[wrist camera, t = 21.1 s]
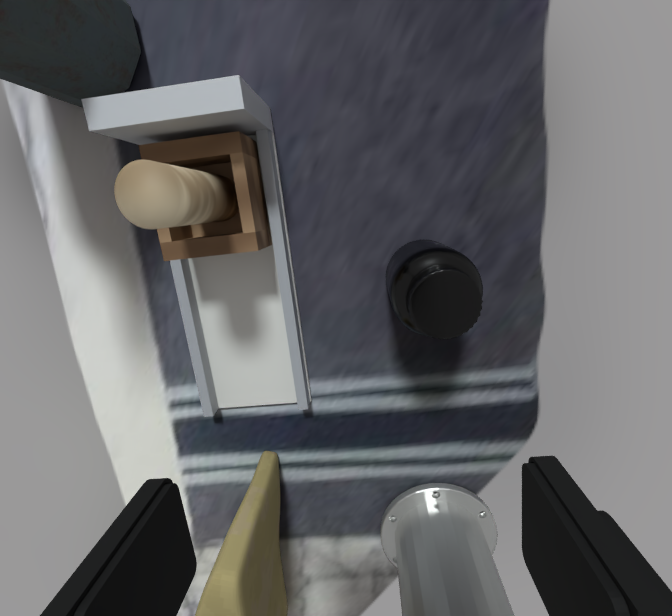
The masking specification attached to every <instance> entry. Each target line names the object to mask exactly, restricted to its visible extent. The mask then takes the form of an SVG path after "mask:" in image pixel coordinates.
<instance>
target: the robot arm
mask: <svg viewBox="0 0 672 616" xmlns="http://www.w3.org/2000/svg"><path fill="white" fill-rule="evenodd" d="M380 534H381V544H382V547H383V550H384V553H385V554H386V556H387V557H388V559H389V561H390V562H391V563H392V564H393V565H394V566H395V567H396V568H397V569H398V576H399V586H400V596H401V606H402V616H514V613H513V611H512V608H511V605H510V603H509V600H508V597H507V595H506V592H505V589H504V586H503V584H502V581H501V578H500V576H499V573H498V570H497V568H496V565H495V562H494V560H493V557H492V554H493V553H494V550H495V547H496V544H497V535H498V534H497V527H496V523H495V521H494V518H493V516H492V514H491V512H490V510H489V508H488V506H487V505H486V504H485V503H484V502H483V500H482V499H480V498H479V497H478V496H477V495H475V494H474V493H473V492H471V491H469V490H467V489H465V488H462V487H459V486H456V485H453V484H446V483H429V484H424V485H419V486H416V487H413V488H411V489H408V490H407V491H405V492H403V493H401V494H400V495H399V496H398V497H396V498H395V499H394V500H393V501H392V502H391V503H390V505H389V506H388V507H387V509H386V511H385V513H384V515H383V517H382V521H381V529H380ZM522 551H523V557H524V560H525V563H526V566H527V568H528V570H529V572H530V574H531V576H532V579H533V581H534V583H535V585H536V587H537V590H538V592H539V594H540V596H541V598H542V600H543V603H544V605H545V607H546V609H547V611H548V614H549V616H672V592H671V591H670V589H669V588H668V587H667V585H666V584H665V583H664V582H663V580H662V579H661V578H660V577H659V576H658V574H657V573H656V572H655V571H654V569H653V568H652V567H651V566H650V564H649V563H648V562H647V561H646V559H645V558H644V557H643V556H642V554H641V553H640V552H639V551H638V549H637V548H636V547H635V546H634V544H633V543H632V542H631V541H630V539H629V538H628V537H627V536H626V534H625V533H624V532H623V531H622V529H621V528H620V527H619V526H618V524H617V523H616V522H615V521H614V519H613V518H612V517H611V516H610V515H609V514H608V513H606V512H604V511H597V510H596V509H595V508H594V506H593V505H592V503H591V502H590V501H589V500H588V498H587V497H586V496H585V494H584V493H583V492H582V490H581V489H580V488H579V487H578V485H577V484H576V483H575V481H574V480H573V479H572V478H571V476H570V475H569V474H568V472H567V471H566V470H565V468H564V467H563V466H562V465H561V463H560V462H559V461H558V459H557V458H556V457H555V456H540V457H530V458H529V463H524V464H523V465H522ZM195 572H196V557H195V553H194V549H193V545H192V541H191V537H190V533H189V529H188V525H187V520H186V516H185V512H184V508H183V504H182V500H181V496H180V492H179V488H178V485H177V484H175V483H173V482H172V480H171V479H169V478H163V479H149V480H147V481H146V482H145V483H144V484H143V485H142V487H141V488H140V489H139V490H138V492H137V493H136V494H135V495H134V497H133V498H132V499H131V501H130V502H129V503H128V504H127V506H126V507H125V508H124V509H123V511H122V512H121V513H120V515H119V516H118V517H117V519H116V520H115V521H114V522H113V523H112V525H111V526H110V527H109V529H108V530H107V531H106V532H105V534H104V535H103V536H102V537H101V539H100V540H99V541H98V543H97V544H96V545H95V546H94V548H93V549H92V550H91V552H90V553H89V554H88V555H87V556H86V558H85V559H84V560H83V562H82V563H81V564H80V566H79V567H78V568H77V569H76V571H75V572H74V573H73V574H72V576H71V577H70V578H69V579H68V581H67V582H66V583H65V584H64V586H63V587H62V588H61V590H60V591H59V592H58V593H57V595H56V596H55V597H54V599H53V600H52V601H51V602H50V604H49V605H48V606H47V607H46V609H45V610H44V611H43V613H42V614H41V615H40V616H176V615H177V613H178V611H179V609H180V606H181V604H182V602H183V600H184V598H185V595H186V593H187V591H188V589H189V587H190V584H191V582H192V580H193V578H194V575H195Z"/></svg>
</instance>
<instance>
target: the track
mask: <svg viewBox="0 0 672 616" xmlns="http://www.w3.org/2000/svg"><path fill="white" fill-rule="evenodd" d="M81 100H82V104H83V108H84V112H85V116H86V120H87V124H88V129H89V131H91V132H95V133H98V134H102V135H105V136H109V137H113V138H116V139H120V140H124V141H127V142H131V143H135V144H138V145H143V144H150V143H157V142H165V141H172V140H179V139H186V138H193V137H200V136H208V135H215V134H222V133H229V132H236V131H240V132H241V133H243V134H245V135H246V136H248V137H250V138H251V139H253V140H254V141H256V143H257V149H258V156H259V162H260V169H261V175H262V182H263V189H264V195H265V202H266V208H267V215H268V221H269V228H270V234H271V241H272V245H271V246H268V247H266V248H264V249H261V250H259V251H252V252H243V253H234V254H225V255H216V256H206V257H197V258H188V259H179V260H170V264H171V268H172V273H173V277H174V282H175V286H176V291H177V296H178V300H179V305H180V309H181V314H182V319H183V323H184V328H185V332H186V337H187V342H188V346H189V351H190V355H191V360H192V364H193V369H194V374H195V378H196V383H197V387H198V392H199V397H200V401H201V406H202V410H203V415H204V417H208V416H214V414H215V413H216V412H217V410H218V409H219V408H230V407H243V406H257V405H270V404H284V403H297V405H298V410H305V409H308V408H309V404H310V402H311V400H312V399H311V392H310V385H309V378H308V371H307V364H306V357H305V349H304V342H303V335H302V328H301V321H300V314H299V307H298V300H297V293H296V286H295V279H294V272H293V265H292V258H291V251H290V244H289V237H288V230H287V223H286V216H285V209H284V202H283V195H282V188H281V181H280V174H279V167H278V160H277V152H276V145H275V138H274V131H273V124H272V117H271V110H270V108H269V107H268V105H267V104H266V103H265V102H264V101H263V100H262V99H261V98H260V97H259V96H258V95H257V94H256V93H255V92H254V91H253V90H252V88H251V87H250V86H249V85H248V84H247V83H246V82H245V81H244V80H243V79H242V78H241V77H240V76H239V75H237V76H230V77H224V78H217V79H211V80H204V81H198V82H191V83H184V84H178V85H171V86H165V87H158V88H152V89H145V90H139V91H132V92H125V93H119V94H112V95H106V96H99V97H93V98H86V99H81Z"/></svg>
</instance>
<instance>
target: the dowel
mask: <svg viewBox="0 0 672 616" xmlns="http://www.w3.org/2000/svg"><path fill="white" fill-rule="evenodd" d="M114 193H115V199H116V203H117V205H118V208H119V209H120V211H121V213H122V214H123V215H124V217H125V218H126V219H127V220H129V221H130V222H131V223H133V224H134V225H136V226H138V227H141V228H144V229H160V228H169V227H177V226H186V225H194V224H203V223H212V222H220V221H226V220H228V219H230V218H232V217H233V216H234V215H235V214H236V213H237V211H238V209H239V206H238V200H237V194H236V188H235V184H234V183H233V182H232V181H231V180H230V179H229V178H227V177H225V176H222V175H217V174H213V173H208V172H203V171H198V170H194V169H189V168H184V167H179V166H175V165H170V164H165V163H160V162H156V161H151V160H136V161H133V162H130V163H128V164H127V165H126V166H124V167H123V168H122V169H121V171H120V172H119V174H118V176H117V178H116V181H115V187H114Z"/></svg>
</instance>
